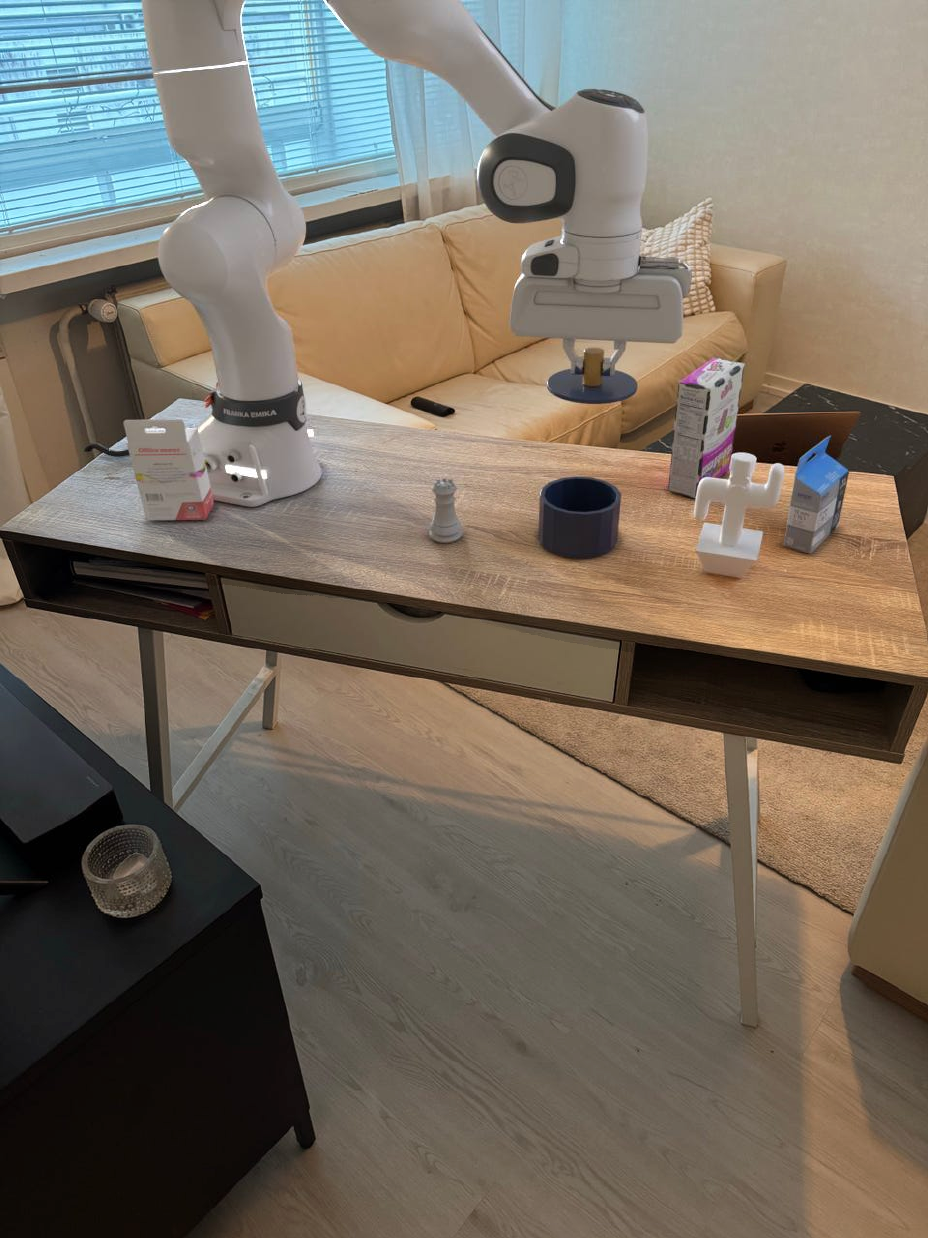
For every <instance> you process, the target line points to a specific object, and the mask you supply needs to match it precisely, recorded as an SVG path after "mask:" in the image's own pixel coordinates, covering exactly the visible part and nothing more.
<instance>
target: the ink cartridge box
mask: <svg viewBox="0 0 928 1238" xmlns="http://www.w3.org/2000/svg"><path fill="white" fill-rule="evenodd" d="M123 427H124V431H125V437H126V440H127V442H126V447H127V449H128V450H129V454H130V455H129V457H130V462H131V465H132V468H133V472H134V477H135V480H136V484H137V488H138V493H139V495H140V499H141V503H142V507H143V512H144V515H145V518H146V520H147V521H202V520H203V521H204V520H207V518H208V517H209V514H210V513H211V511H212V509H213V507H214V505H215V500H213V496H212V492H211V487H210V482H209V478H208V473H207V468H206V464H205V459H204V454H203V450H202V445H201V441H200V437H199V432H198V428H188V427H186V426H185V422H184V420H183V419H181V418H179V419H161V418H160V419H125V420H124V421H123ZM153 427H156V428H153Z"/></svg>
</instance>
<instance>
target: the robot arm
mask: <svg viewBox="0 0 928 1238" xmlns="http://www.w3.org/2000/svg"><path fill="white" fill-rule="evenodd" d="M323 1H324V3H325V4H326V5H327V7H328V8H329V9H330V10H331V11H332V13H333V15H335V17H336V18H337V20H338V21H340V23H341V24H342V25H343V26H344V28H345V29H346V30H347V31H348V32H349V33H350V34H351V35H352V36H353V37H354V38H355V39H356V40H358V42H360V43H361V44H362V45H363V46H365V47H366V48H367V49H368V50H369V51H370V52H371V53H372V54H374V55H376V56H377V57H378V58H379V57H380V58H382V59H384V60H388V61H391V62H397V63H400V64H405V65H409V66H412V67H416V68H419V69H422V70H423V71H427V72H429V73H431V74H433V75H435V76H437V77H439V78H441V79H442V80H444V82H446V83H447V84H448V85H450V87H452V88H453V89H454V90H455V91H456V92H457V94H458V95H460V97H461V98H462V99H463V100H464V102H466V104H467V105H468V106H469V107H470V109H472V111H473V112H474V113H475V114H476V116H477V117H478V118H479V119H480V120H481V121H482V122H483V123H484V125H485V126H486V127H487V128H488V129H489V131H490V132H491V133H492V134H493V135H494V137H495V138H493V140H491V142H489V144H488V145H486V147H485V149H484V150H483V152H482V153H481V156H480V158H479V161H478V165H477V173H476V176H477V177H476V180H477V188H478V191H479V195H480V198H481V199H482V202H483V204H484V205H485V206H486V208H487V209H488V210H489V211H490V213H492V215H494V216H495V217H496V218H497V219H500V220H501V221H504V222H506V223H510V224H521V225H522V224H532V223H535V222H536V223H537V222H543V221H549V220H554V219H559V220H560V221H561V234H560V235H558V236H555V237H552V238H547V239H544V240H540V241H538V242H534V243H532V244H530V245H529V246H528V247H527V248H526V249H525V251H524V253H523V254H522V257H521V260H520V261H521V262H520V269H521V274H520V276H519V278H518V279H517V281H516V283H515V286H514V289H513V293H512V297H511V303H510V310H509V329H510V331H511V332H512V333H513V335H514V336H515V337H518V338H519V337H520V338H540V339H541V338H542V339H543V338H544V339H562V349H563V350H564V352H565V354H566V356H567V358H568V360H569V361H570V369H571V374H573V375H583V364H584V356H579V355H578V354H577V351H576V349H575V346H576V342H577V340H583V341H584V340H585V341H587V340H588V341H604V342H605V341H609V342H613V350H614V352H613V353H612V355H611V356H610V357H604V361H603V370H602V376H611V377H614V374H615V370H616V364H617V363H618V362H619V360H620V359H621V357H622V356H623V354H624V353H625V351H626V348H627V342H628V343H629V342H630V343H648V344H649V343H652V344H669V345H670V344H672V345H673V344H675V343H676V342H678V341H679V340H680V339H681V338H682V336H683V330H684V329H683V328H684V299H685V298H686V297H687V296H688V295H689V293H690V291H691V287H692V279H693V273H692V270H691V268H690V266H689V265H688V264H687V263H686V262H683V261H681V259H680V258H678V257H668V258H666V257H665V258H664V257H656V256H641V255H640V254H641V244H642V234H643V221H642V215H641V205H642V204H641V203H642V198H643V196H644V193H645V189H646V186H647V177H648V176H647V174H648V161H649V129H648V119H647V114H646V111H645V108H644V107H643V106H642V104H641V103H640V102H639V101H638V100H636V99H635V98H633V97H631V96H629V95H627V94H625V93H622V92H617V91H614V90H608V89H597V88H584V89H582V90H578V91H577V92H575V93H574V94H573V95H572V96H571V98H570V99H568V100H566V101H565V102H563V103H562V104H561V105H559V106H557V107H556V106H553V105H551V104H550V103H548V102H547V101H546V100H544V99H543V98H541V97H540V96H539V94H537V93H536V92H535V90H533V88H532V87H531V86H530V85H529V84H528V83H527V81H526V80H525V79H524V78H523V76H522V75H521V74H520V72H518V70H517V69H516V68H515V67H514V66H513V64H512V63H511V61H509V59H507V57H506V56H505V55H504V54H503V52H502V51H501V50H500V49H499V48H498V46H497V45H496V44H495V43H494V41H493V40H492V39H491V38H490V37H489V35H488V34H487V33H486V32H485V31H484V30H483V29H482V27H481V26H480V25H479V24H478V22H476V20H475V19H474V18H473V16H472V15H471V13H470V12H469V11H468V9H467V8H466V6H465V5H464V3H463V2H462V0H323ZM246 2H247V0H141V10H142V19H143V20H142V21H143V28H144V34H145V35H144V36H145V41H146V47H147V52H148V53H147V54H148V58H149V62H150V67H151V68H150V69H151V71H153V72H152V75H153V76H152V77H153V81H154V84H155V89H156V93H157V97H158V102H159V107H160V111H161V115H162V120H163V123H164V124H163V125H164V127H165V132H166V137H167V140H168V143H169V145H170V146H171V149H172V150H173V151H174V152H175V153H176V154H177V155H178V156H179V157H180V158H182V159H183V160H184V161H185V162H186V163H187V164H188V165H189V167H190V169H191V170H192V172H193V174H194V175H195V178H196V179H197V181H198V183H199V186H200V188H201V191H202V193H203V196H204V202H203V203H201V204H199V205H195V206H192V207H191V208H187V210H185V211H183V212H182V213H181V214H180V215H179V216H178V217H177V218H175V219H174V220H173V221H172V222H171V223H170V224H169V225H168V226H167V227H166V229H165V230H164V231H163V232H162V233H161V235H160V238H159V241H158V246H157V260H158V264H159V268H160V271H161V273H162V275H163V277H164V279H165V280H166V282H167V284H168V285H169V286H170V287H171V288H172V290H173V291H174V292H176V294H178V295H179V296H181V297H182V298H183V299H184V300H187V301H188V302H189V303H190V304H191V305H192V307H193V308H194V310H195V312H196V313H197V315H198V318H199V319H200V321H201V323H202V325H203V327H204V331H205V332H206V336H207V338H208V341H209V345H210V349H211V355H212V358H213V359H212V360H213V363H214V368H215V372H216V373H215V374H216V378H217V382H216V383H215V388H213V389H212V390H210V392H209V393H208V396H206V398H204V400H203V403H205V405H204V408H205V409H208V408H209V407H210V406H211V413H209V414H208V415H207V416H206V417H205V418H204V419H203V420H201V421H200V422H199V423H198V424H197V425H195V424H191V425H189V426H187V428H198V432H199V437H200V441H201V445H202V450H203V454H204V459H205V464H206V468H207V473H208V478H209V482H210V487H211V492H212V496H213V501H214V502H220V503H226V504H231V505H236V506H243V507H248V508H255V507H259V506H262V505H264V504H266V503H269V502H271V501H274V500H277V499H282V498H287V497H290V496H293V495H294V496H295V495H297V494H300V493H302V492H304V491H305V492H306V491H307V490H309V489H310V488H312V487H313V486H314V485H316V484H317V483H318V482H319V481H320V479H321V478H322V475H323V471H322V467H321V465H320V463H319V460H318V459H317V457H316V454H315V451H314V449H313V445H312V442H311V438H310V437H314V429H308V427H307V419H308V418H307V403H306V398H305V394H304V387H303V383H302V381H301V380H300V378H299V373H298V372H299V371H298V365H297V358H296V357H297V356H296V350H295V342H294V335H293V330H292V328H291V326H290V325H289V323H288V322H287V321H286V320H285V319H283V318H282V317H281V316H279V315H278V313H277V312H276V309H275V307H274V304H273V302H272V300H271V297H270V293H269V290H268V278H269V277H271V276H272V275H274V274H276V273H278V272H280V271H281V270H283V269H284V268H286V267H287V266H288V265H289V264H290V263H291V262H292V261H293V259H294V258H295V256H296V255H297V254H298V252H299V251H300V250H301V248H302V246H303V245H304V242H305V240H306V235H307V224H306V223H307V222H306V218H305V214H304V211H303V210H302V207H301V205H300V203H298V201H297V200H296V199H295V197H294V196H293V195H291V193H289V191H287V190H286V189H285V187H284V185H283V183H282V180H281V179H280V177H279V175H278V172H277V170H276V167H275V165H274V162H273V160H272V158H271V155H270V152H269V150H268V147H267V144H266V141H265V137H264V135H263V131H262V127H261V122H260V117H259V111H258V108H257V102H256V97H255V92H254V91H255V90H254V86H253V80H252V76H251V70H250V64H249V62H248V60H249V59H248V55H247V49H246V44H245V39H244V33H243V26H242V14H243V9H244V6H245V4H246ZM94 449H95V450H97V451H99V452H101V453H102V454H105V455H106V456H110V457H114V458H122V457H123V458H124V457H128V456H130V454H129V450H128V448H127V449H124V450H114V449H110V448H109V447H108V448H107V447H106V446H104V445H102V444H100V443H98V442H90V443H88V444H86V446H85V447H84V449H83V451H84V452H85V453H89V452H91V451H92V450H94ZM109 450H110V451H109Z"/></svg>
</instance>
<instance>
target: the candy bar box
mask: <svg viewBox="0 0 928 1238" xmlns="http://www.w3.org/2000/svg"><path fill="white" fill-rule="evenodd" d="M745 366H746V363H743V362H739V361H733V360H729V359H723V358H720V357H713V358H712V359H709V360H708V361H706V363H704V364H703V365H701V366H700V367H698V368H697V369H695V370H694V371H693V372H691V373H690V374H689V375H687V376H686V377H684V378H683V379H681V380H680V381H679V382H677V383H678V385H677V395H676V396H677V397H676V403H675V404H676V405H675V412H674V413H675V414H674V415H675V416H674V425H673V434H672V436H673V438H672V445H671V446H672V447H671V454H670V466H669V474H668V475H669V476H668V485H667V491H668V492H671V493H673V494H676V495H677V494H678V495H681V496H684V497H688V498H692V499H695V500H696V494H697V488H698V485H699V482H700V481H701V480H702V479H703V478H705V477H711V478H719V479H722V478H723V477H724V476H725V475H726V474H727V473H728V472H729V471H730V469H729V467H730V461H731V456H732V454H733V448H734V440H735V434H736V428H737V419H738V413H739V406H740V399H741V392H742V385H743V379H744V370H745Z"/></svg>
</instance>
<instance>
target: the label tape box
mask: <svg viewBox="0 0 928 1238" xmlns="http://www.w3.org/2000/svg"><path fill="white" fill-rule="evenodd" d="M831 437H832V435H829V436H828V435H827V437H825V438H823V439H822V440H821V441H819V443H817V444H816V445H815V446H813V447H812V448H811V449H809V450H808V451H807V452H805V454H803V455H802V456H801V457H800V458H799V459H798V463H797V466H796V471H795V474H794V480H793V486H792V491H791V496H790V497H791V498H790V503H789V509H788V515H787V521H786V527H785V534H784V539H783V546H784V547H787V548H790V549H793V550H796V551H798V552H802V553H806V554H808V555H809V554H812V553H813V552H814V551H816V549H817V548H818V547H819V546H820V545H821V544H822V543H823V542H824V541H825V540H826V539H827V538H828V537H829V536H830V535H831V534H832V533H833V532H834V531H835V530H837V528H838V527H839V523H840V517H841V514H842V508H843V503H844V499H845V494H846V489H847V483H848V479H849V474H850V470H849V469H848V468H846V467H845V466H843V465H842V464H841V463H840V462H838V461H837V460H835V459H834V458H833V457H831V456H830V455H829V454H828V453H826V451H827V447H828V445H829V441H830V439H831ZM813 454H814V456H813ZM812 456H813V457H812ZM811 457H812V458H811ZM810 458H811V459H810Z"/></svg>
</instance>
